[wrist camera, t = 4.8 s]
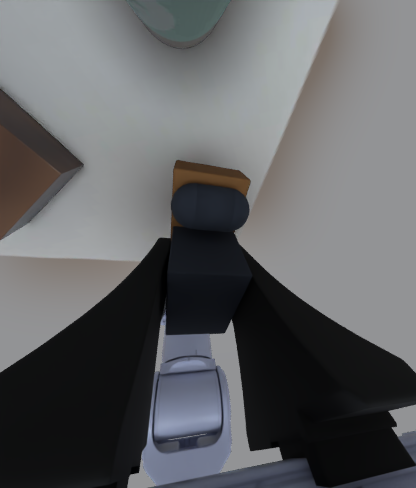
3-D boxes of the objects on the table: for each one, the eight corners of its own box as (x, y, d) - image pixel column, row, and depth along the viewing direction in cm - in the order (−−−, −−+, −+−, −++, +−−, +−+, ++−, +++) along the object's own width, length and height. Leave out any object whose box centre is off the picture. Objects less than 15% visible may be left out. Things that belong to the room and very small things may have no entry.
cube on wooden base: (213, 268, 12) (226, 334, 8) (170, 266, 12) (162, 337, 8) (240, 170, 8) (288, 212, 4) (176, 159, 7) (164, 196, 4)
